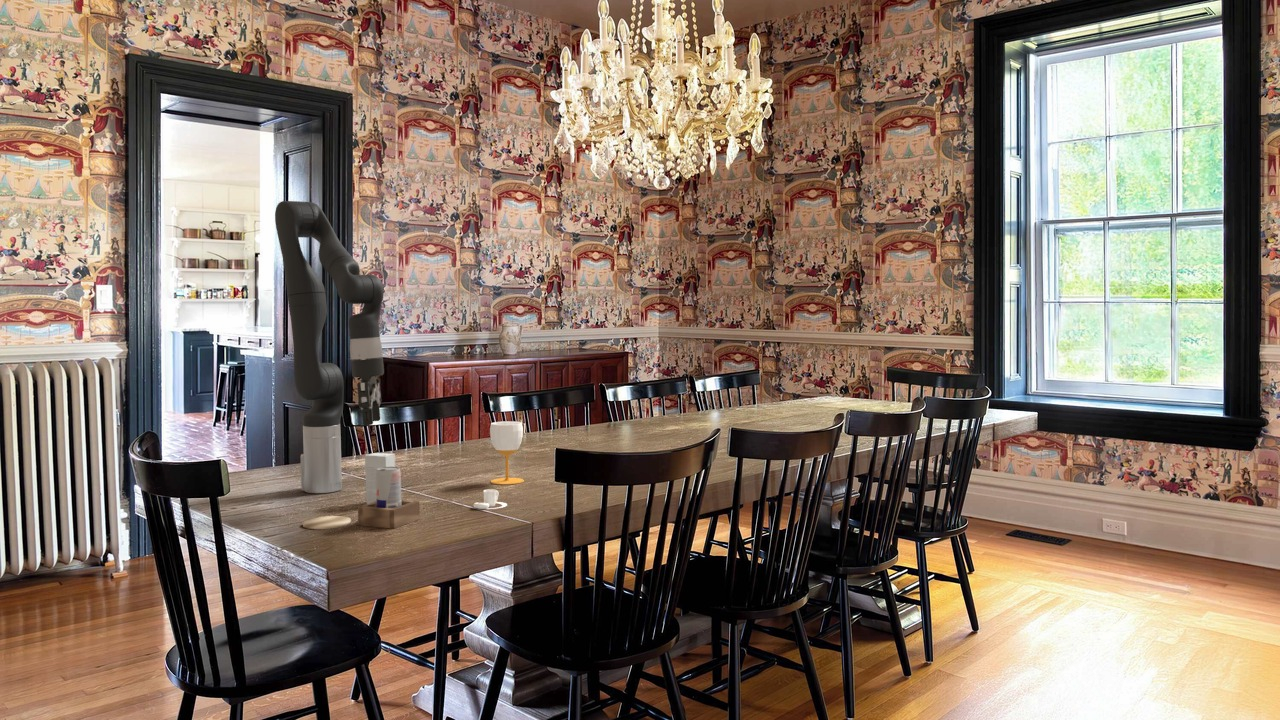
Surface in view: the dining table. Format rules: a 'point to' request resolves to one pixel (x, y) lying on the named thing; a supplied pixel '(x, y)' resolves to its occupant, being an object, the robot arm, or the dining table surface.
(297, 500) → the dining table surface
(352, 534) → the dining table surface
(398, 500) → the energy drink
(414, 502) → the walnut holder
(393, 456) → the skincare box
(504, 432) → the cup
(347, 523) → the cork coaster
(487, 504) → the teacup and saucer
